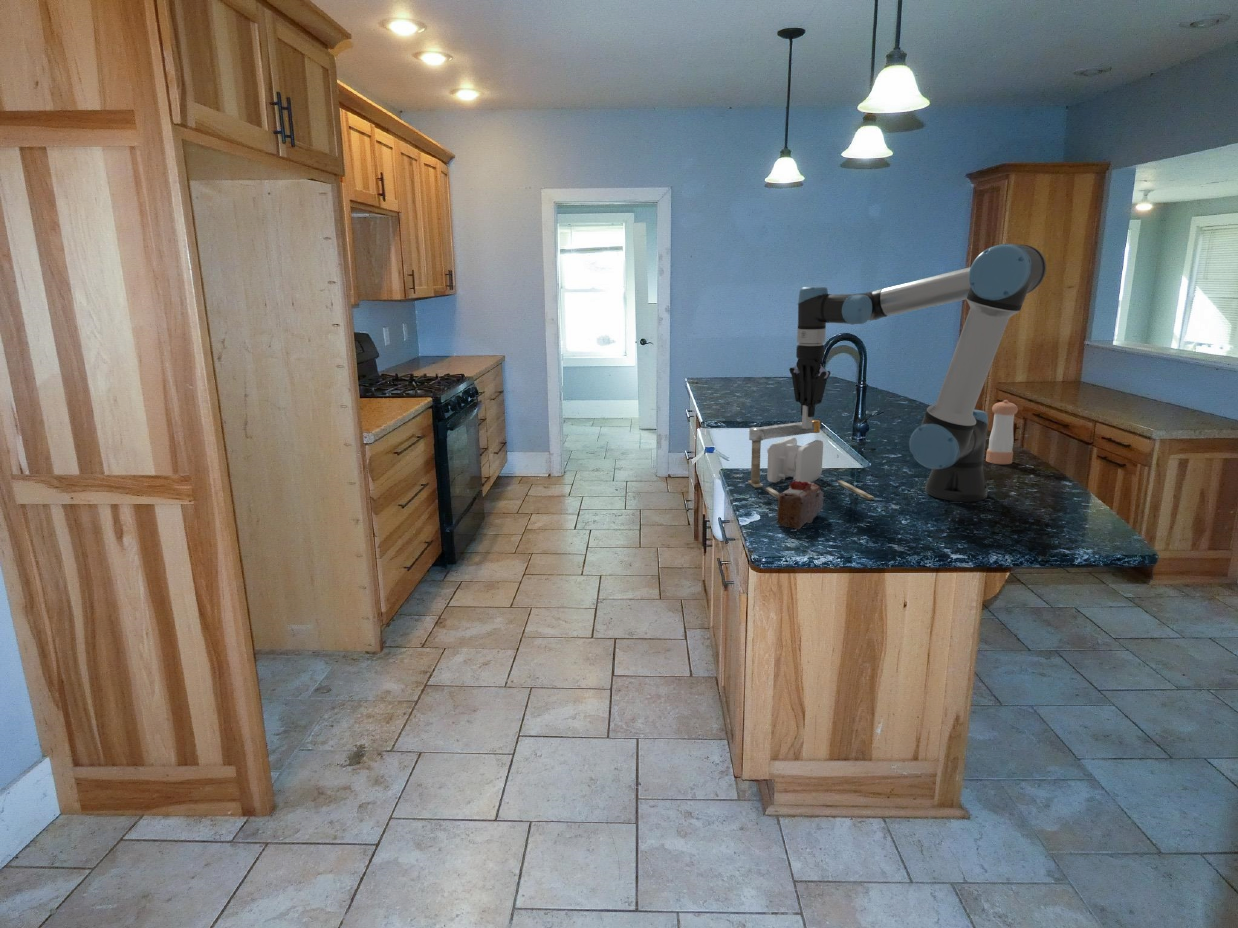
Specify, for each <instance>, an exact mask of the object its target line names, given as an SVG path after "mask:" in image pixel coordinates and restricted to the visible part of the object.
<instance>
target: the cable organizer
mask: <svg viewBox="0 0 1238 928" xmlns="http://www.w3.org/2000/svg"><path fill="white" fill-rule="evenodd" d="M766 451H767V469H766V470H767V472H766V473H767V475H766V479H767V481H768V482H772V483H775V484H776V483H778V482H780V481H781V480H784V481H785V480H786V478H789V477H791V478H793V479H792V481H794V482H795V481H798V482H799V481H800V482H811V483H814V482H815V481H817V480H818V479H819V478H820V477H821V475H822V473H823V458H824V457H823V456H824V442H823V440H819V439H815V440H812V441H811V442H808V443H807V444H803V445H799V444H798V440H797V438H796V437H793V436H787V437H786V438H783V439H781V440H779V441H775V442H774V443H771V444H770V445H769V447H768V448H767V450H766Z"/></svg>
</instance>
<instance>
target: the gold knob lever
mask: <svg viewBox="0 0 1238 928" xmlns="http://www.w3.org/2000/svg"><path fill="white" fill-rule="evenodd" d="M748 432H749V433H748V440H749V441H751V442H752V441H764V440H771V439H779V438H784V437H786V438H787V437H793V436H800V435H806V434H807V435H808V434H819V433H820V432H821V420H819V419H813V421H812V428H808V429H804V428H802V421H800V422H799V421H797V422H792V423H783V424H774V425H769V426H768V425H767V426H761V427H759V426H756V427H753V426H752V427H750V428H749V431H748Z"/></svg>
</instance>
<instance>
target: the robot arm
mask: <svg viewBox="0 0 1238 928" xmlns="http://www.w3.org/2000/svg"><path fill="white" fill-rule="evenodd" d="M1046 262H1047V261H1046V258H1045V256H1044V255H1043V253H1042V252H1041V251H1040V250H1039V249H1037V248H1036V247H1034V246H1031V245H1028V244H1014V243H1013V244H1012V243H1000V244H997V245H994V246H991V247H988V248H986V249H985V250H983V251H982V252H981V253H980V254H978V255H977V257H976V258H975V259H974V260H973V261H972V264H971V265H970V266H969V267H966V268H961V269H958V270H953V271H948V272H945V273H941V274H937V275H933V276H929V277H925V278H921V279H918V280H914V281H909V282H906V283H902V284H901V283H900V284H897V285H893V286H890V287H885V288H882V289H881V288H880V289H877V290H872V291H869V292H863V293H849V294H848V293H847V294H843V293H842V294H830V293H829V291H828V288H827V287H826V286H803V287H801V288H800V290H799V291H798V292H799V295H798V302H797V305H798V306H797V334H796V335H797V336H796V342H797V345H796V353H795V355H796V356H795V357H796V358H797V360H796V361H797V362H796V365H795V366H792V367H789V373H790V375H791V378H792V379H791V380H792V387H793V392H794V393H793V394H794V400H795V402H798V403H799V404H800V415H801V417H802V419H801V422H802V428H804V429H808V428H812V421H813V420H814V419H813V418H814V417H815V415H816V414H815V412H816V411H815V410H816V409H815V408H816V406H817V405H819V404H822V400H823V396H824V393H825V390H826V385H827V382H828V380H829V379H828V378H829V377H830V375H831V374H832V373H831V371H830V370H826V369H825V368H824V367H825V366H824V363H823V359H824V358H825V351H826V350H825V347H826V346H825V345H824V344H825V343H826V327H827V326H826V325H827V324H847V325H863V324H866V323H867V322H868V321H876V320H879V319H881V318H882V319H883V318H886V317H890V316H895V315H900V314H904V313H908V312H913V311H918V310H923V309H926V308H927V309H928V308H932V307H936V306H937V307H938V306H941V305H942V306H943V305H946V304H951V303H955V302H959V301H964V300H965V301H966V302H967V303H968V305H969V308H970V309H969V310H968V313H967V316H966V320H965V322H964V324H963V328H962V330H961V333H960V336H959V338H958V341H957V344H956V347H955V350H954V352H953V355H952V357H951V361H950V363H949V366H948V369H947V371H946V375H945V377H944V379H943V380H944V381H943V383H942V385H941V388H940V391H939V393H938V396H937V399H936V402H935V403H934V404H932V405H930V406H928V407H927V408H926V411H925V413H924V416H923V419H922V421H921V424H920V425H919V426H917V427H915V430H914V431H913V432H912V434H911V435H910V437H909V441H908V443H909V451H910V453H911V454H912V456H913V458H914V460H915V461H916V462H917V463H918V464H919V465H921V466H922V467H925V468H927V469H929V470H930V474H929V476H928V479H927V480H926V482H925V489H924V491H925V494H927V495H929V496H932V497H934V498H936V499H941V500H945V501H951V502H964V503H969V502H979V501H983V500H985V499H987V498H988V493H989V492H988V490H989V489H988V485H987V480H986V476H985V472H984V459H985V451H986V441H987V434H988V426H989V415H988V413H987V412H986V411H984V410H979V409H975V408H976V405H977V402H978V400H979V399H980V398H979V397H980V395H981V393H982V390H983V387H984V385H985V382H986V379H987V378H988V374H989V372H990V369H991V368H992V364H993V361H994V359H995V357H996V354H997V351H998V349H999V346H1000V343H1001V341H1002V338H1003V335H1004V334H1005V331H1006V329H1007V326H1008V323H1009V320H1010V318H1011V317H1012V316H1015V315H1017V314H1018V313H1020V311H1021V310H1022V307H1023V304H1024V302H1025V300H1026V297H1027V295H1029V293H1031V292H1034V291H1035V290H1036V289H1037V288H1038V287H1039V286H1040V285H1042V282H1043V281H1044V279H1045V277H1046V273H1047V263H1046Z"/></svg>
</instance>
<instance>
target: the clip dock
mask: <svg viewBox="0 0 1238 928" xmlns="http://www.w3.org/2000/svg"><path fill="white" fill-rule="evenodd" d="M761 444H762V442H761V441H752V440H751V465H750V466H751V471H750V472H751V473H750V480H747V484H748V485H751V486H752V487H753V488H763V487H764V485H763V483H761V481H760V480H761V479H760V478H761V447H762V445H761ZM836 481H837V482H836V484H837V483H838V484H837V485H839V486H841V487H843V488H845V489H847V490H849V491H851V492H853V494H857V496H860V497H862V498H864V499H866V500H868V501H874V500H875V497H874V496H873V495H871V494H869V493H867V492H865V491H864V490H861V489H860V488H857V487H856V486H854V485H852V484H850V483H848V482H846V481H844V480H841V479H840V480H836ZM764 491H765V492H767V493H768V494H770V495H771V496H773V497H774V498H776V499H777V500H778V498H779V494H781V493H780V492H778V491H777V490H775V489H773V488H772V487H770V486H769V487H764Z"/></svg>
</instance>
